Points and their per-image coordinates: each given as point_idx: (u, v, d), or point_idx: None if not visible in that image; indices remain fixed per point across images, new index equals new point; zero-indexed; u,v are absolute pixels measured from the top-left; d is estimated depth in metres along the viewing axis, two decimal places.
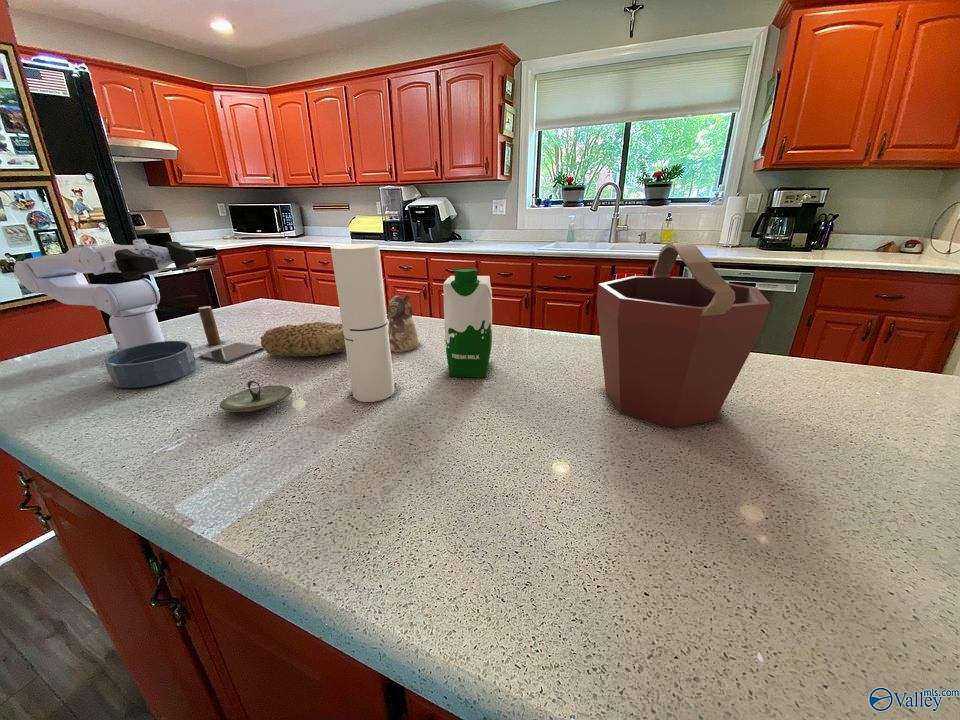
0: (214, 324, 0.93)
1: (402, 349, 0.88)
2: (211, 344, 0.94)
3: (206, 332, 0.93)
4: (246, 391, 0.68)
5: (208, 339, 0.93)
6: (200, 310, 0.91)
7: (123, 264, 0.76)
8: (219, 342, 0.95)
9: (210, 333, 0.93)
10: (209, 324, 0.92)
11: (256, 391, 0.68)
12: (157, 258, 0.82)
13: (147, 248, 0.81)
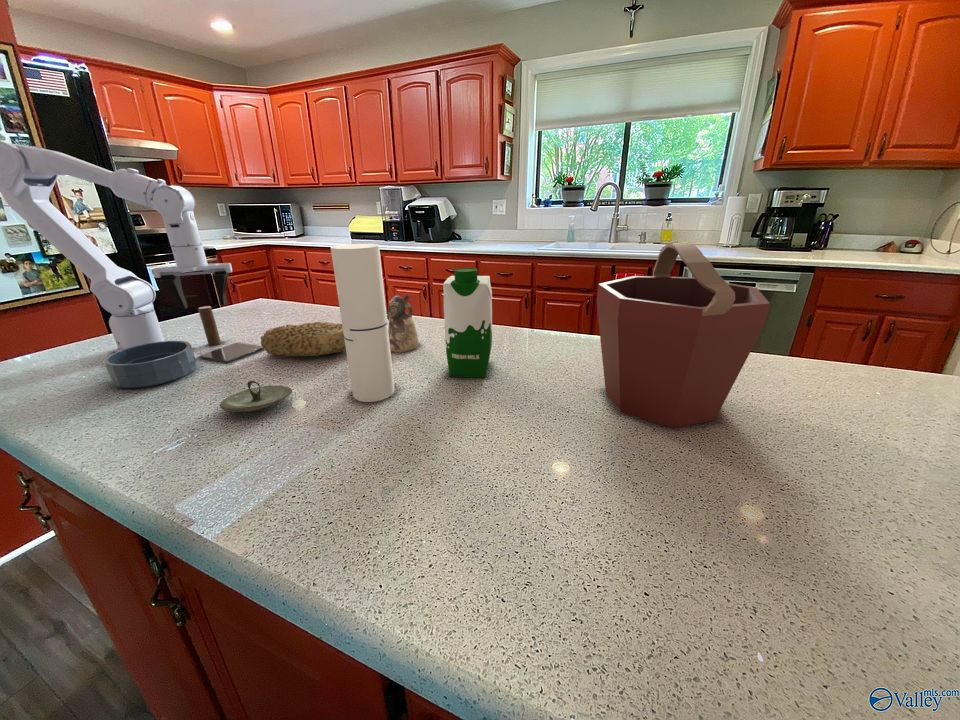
0: (214, 324, 0.93)
1: (402, 349, 0.88)
2: (211, 344, 0.94)
3: (206, 332, 0.93)
4: (246, 391, 0.68)
5: (208, 339, 0.93)
6: (200, 310, 0.91)
7: None
8: (219, 342, 0.95)
9: (210, 333, 0.93)
10: (209, 324, 0.92)
11: (256, 391, 0.68)
12: (201, 273, 0.89)
13: (195, 270, 0.87)
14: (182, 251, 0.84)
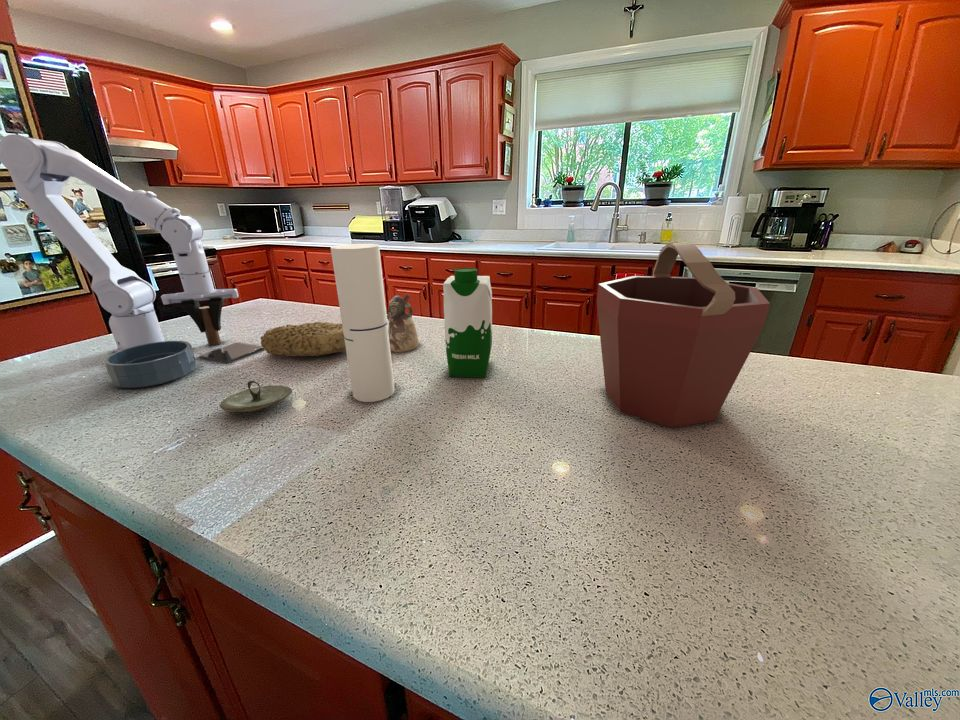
0: None
1: (402, 349, 0.88)
2: (211, 344, 0.94)
3: (206, 332, 0.93)
4: (246, 391, 0.68)
5: (208, 339, 0.93)
6: (200, 310, 0.91)
7: None
8: (219, 342, 0.95)
9: (210, 333, 0.93)
10: (209, 324, 0.92)
11: (256, 391, 0.68)
12: None
13: None
14: (190, 279, 0.87)
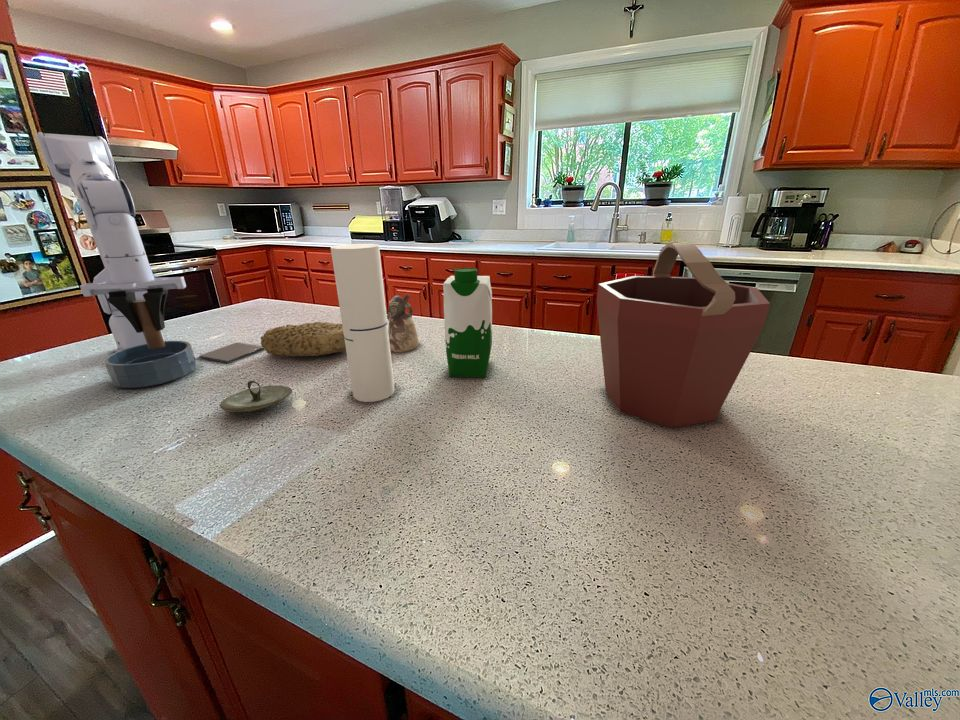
0: None
1: (402, 349, 0.88)
2: (151, 347, 0.74)
3: (144, 332, 0.73)
4: (246, 391, 0.68)
5: (147, 341, 0.74)
6: (135, 304, 0.71)
7: None
8: (162, 345, 0.75)
9: (149, 333, 0.73)
10: (147, 322, 0.72)
11: (256, 391, 0.68)
12: (145, 290, 0.72)
13: None
14: (117, 263, 0.67)
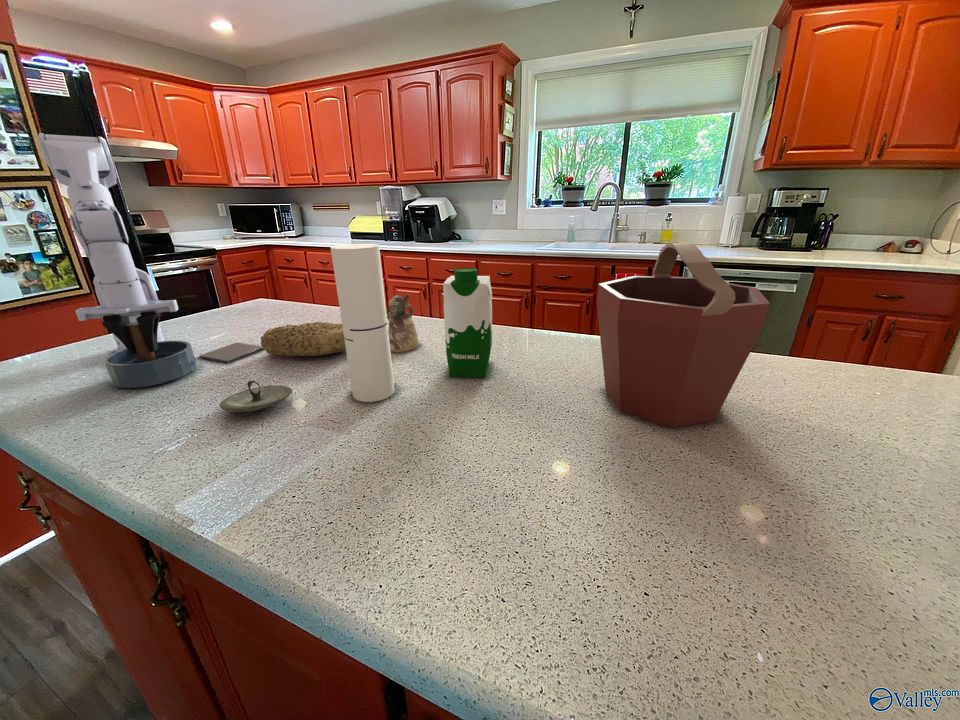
0: None
1: (402, 349, 0.88)
2: None
3: (137, 354, 0.75)
4: (246, 391, 0.68)
5: (140, 362, 0.76)
6: (128, 327, 0.73)
7: None
8: None
9: (143, 355, 0.76)
10: (140, 344, 0.75)
11: (256, 391, 0.68)
12: None
13: None
14: (111, 289, 0.69)
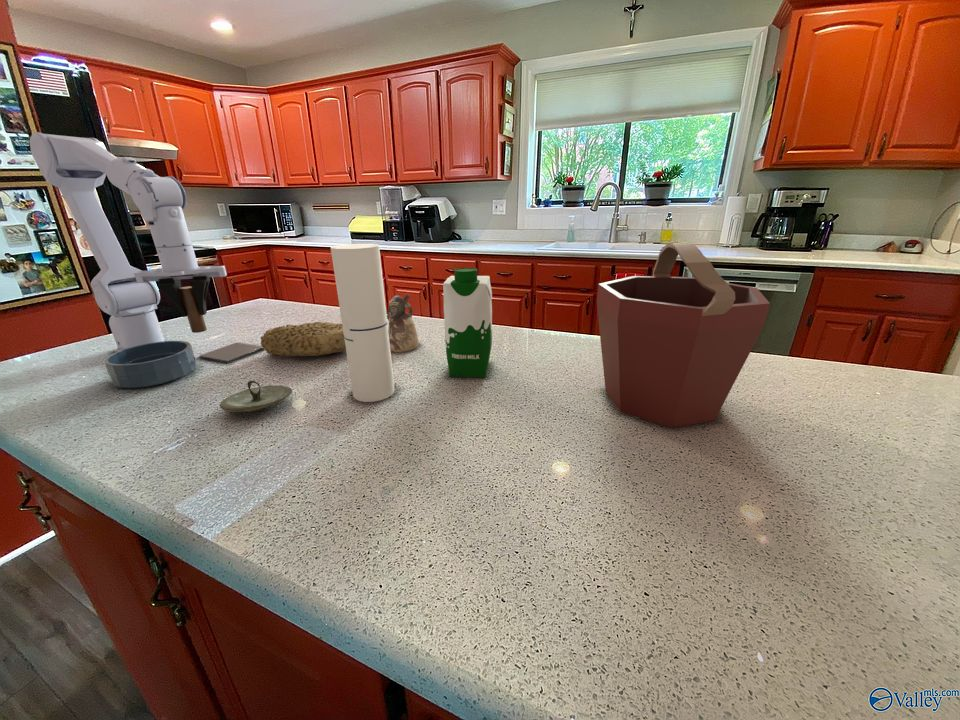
0: None
1: (402, 349, 0.88)
2: (195, 331, 0.80)
3: (189, 316, 0.79)
4: (246, 391, 0.68)
5: (191, 325, 0.80)
6: (181, 290, 0.77)
7: None
8: (204, 329, 0.81)
9: (193, 318, 0.79)
10: (192, 307, 0.79)
11: (256, 391, 0.68)
12: None
13: (183, 274, 0.76)
14: (168, 252, 0.73)
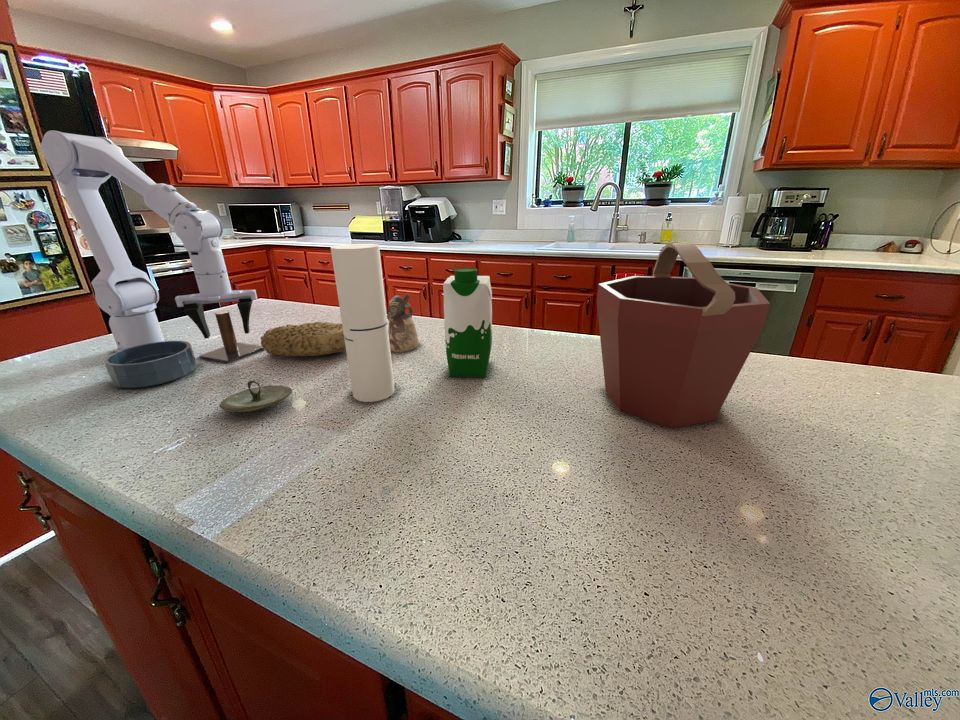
0: (232, 330, 0.87)
1: (402, 349, 0.88)
2: (228, 351, 0.87)
3: (223, 339, 0.86)
4: (246, 391, 0.68)
5: (225, 346, 0.87)
6: (217, 315, 0.84)
7: None
8: (237, 349, 0.89)
9: (228, 340, 0.87)
10: (226, 330, 0.86)
11: (256, 391, 0.68)
12: None
13: None
14: (207, 279, 0.80)
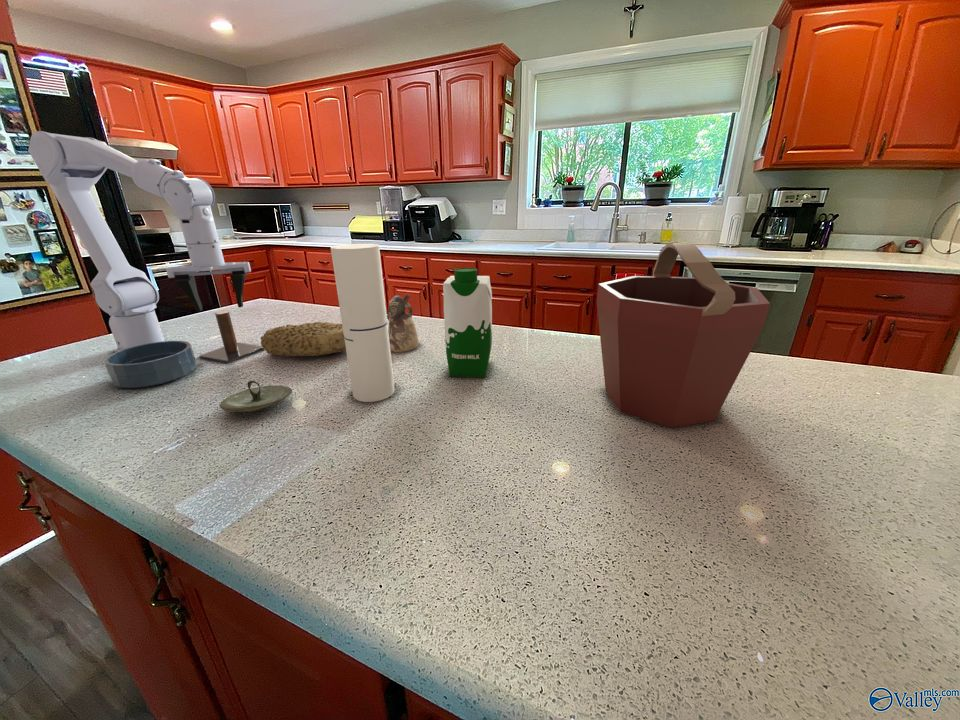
0: (232, 330, 0.87)
1: (402, 349, 0.88)
2: (228, 351, 0.87)
3: (223, 339, 0.86)
4: (246, 391, 0.68)
5: (225, 346, 0.87)
6: (217, 315, 0.84)
7: None
8: (237, 349, 0.89)
9: (228, 340, 0.87)
10: (226, 330, 0.86)
11: (256, 391, 0.68)
12: (218, 273, 0.83)
13: None
14: (198, 249, 0.78)
